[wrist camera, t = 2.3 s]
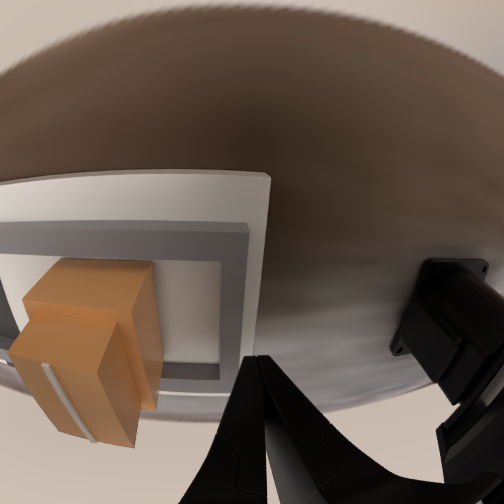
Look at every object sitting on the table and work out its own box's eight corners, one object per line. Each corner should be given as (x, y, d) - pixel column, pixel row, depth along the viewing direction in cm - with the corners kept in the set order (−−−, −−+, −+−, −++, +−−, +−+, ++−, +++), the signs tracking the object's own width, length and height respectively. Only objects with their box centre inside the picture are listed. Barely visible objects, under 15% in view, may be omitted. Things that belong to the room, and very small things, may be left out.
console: (265, 172, 10) (277, 182, 8) (245, 379, 15) (249, 410, 13) (-65, 195, 7) (-87, 207, 5) (-21, 341, 12) (-34, 359, 10)
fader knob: (151, 261, 10) (110, 367, 5) (164, 357, 12) (150, 456, 7) (59, 258, 9) (-12, 340, 4) (85, 349, 11) (52, 435, 6)
